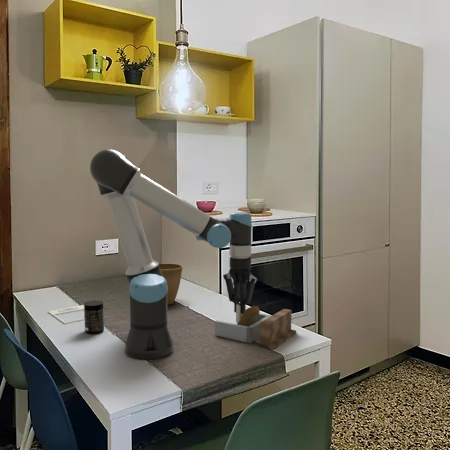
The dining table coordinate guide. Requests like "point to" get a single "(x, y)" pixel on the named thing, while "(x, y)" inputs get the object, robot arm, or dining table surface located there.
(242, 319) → the rock
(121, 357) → the dining table surface
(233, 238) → the robot arm
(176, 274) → the plant pot
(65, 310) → the photo frame
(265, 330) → the wall
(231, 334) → the tray
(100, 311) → the supplement container
